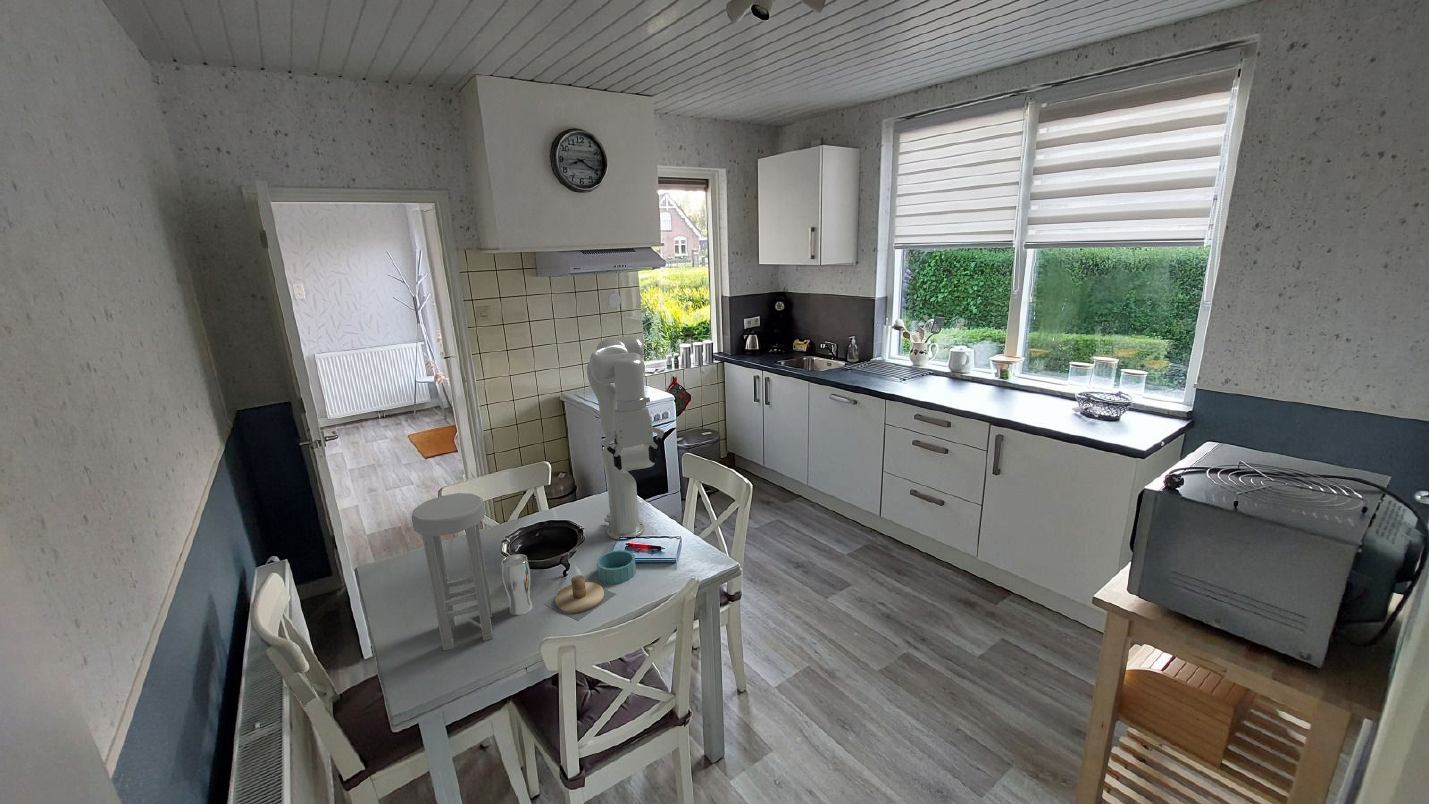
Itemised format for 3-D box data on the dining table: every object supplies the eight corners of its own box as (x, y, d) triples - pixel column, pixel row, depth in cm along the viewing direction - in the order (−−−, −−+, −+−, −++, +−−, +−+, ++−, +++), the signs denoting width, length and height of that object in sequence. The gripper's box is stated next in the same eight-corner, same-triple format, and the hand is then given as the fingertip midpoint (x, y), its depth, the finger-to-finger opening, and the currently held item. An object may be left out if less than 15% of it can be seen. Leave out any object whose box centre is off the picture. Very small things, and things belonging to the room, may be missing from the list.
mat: (543, 605, 158) (543, 603, 158) (581, 581, 169) (581, 579, 169) (578, 622, 150) (578, 620, 150) (616, 596, 161) (616, 594, 161)
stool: (501, 641, 144) (481, 512, 135) (433, 658, 139) (407, 525, 130) (500, 607, 158) (482, 488, 149) (438, 621, 153) (415, 499, 144)
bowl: (590, 578, 171) (589, 563, 169) (617, 561, 179) (615, 546, 178) (617, 589, 164) (616, 573, 163) (643, 571, 173) (642, 556, 172)
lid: (545, 603, 158) (543, 583, 157) (581, 580, 168) (579, 561, 167) (578, 619, 151) (575, 598, 149) (613, 594, 161) (612, 574, 159)
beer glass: (527, 599, 161) (520, 550, 158) (539, 609, 157) (532, 559, 153) (503, 610, 157) (495, 560, 153) (515, 621, 152) (507, 570, 148)
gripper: (656, 397, 161) (660, 455, 165) (595, 406, 154) (601, 467, 158) (666, 402, 155) (670, 463, 159) (603, 412, 147) (609, 475, 151)
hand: (635, 465), depth 158 cm, fingers open, 9 cm apart
